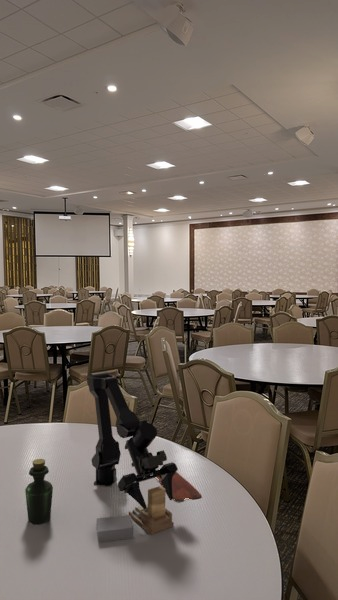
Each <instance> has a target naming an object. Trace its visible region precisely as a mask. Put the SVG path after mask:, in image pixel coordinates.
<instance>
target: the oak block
mask: <svg viewBox="0 0 338 600" xmlns="http://www.w3.org/2000/svg"><path fill="white" fill-rule="evenodd" d="M147 502H148V515H150V516H151V517H152V518H153V519H156V518H159V517H162V516H164V515H165V508H166V492H165V488H163V486H162V485H158V486H156V487H152V488H149V489H147Z"/></svg>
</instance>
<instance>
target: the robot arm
mask: <svg viewBox="0 0 338 600" xmlns="http://www.w3.org/2000/svg"><path fill="white" fill-rule="evenodd" d="M86 379H87V380H86V384H87V386H88V390H89V392H90V394H91V395H92V396H93V398H94V403H95V411H96V412H95V413H96V421H97V429H98V430H97V431H98V440H97V442H96V445H95V453H94V455H93V456H92V458H91V465H92V467H93V468H95V481H94V482H93V484H94V485H100V486H105V487H111V486H112V485H113V484H114V483H115V481H117V480H118V478H117V468H116V465H119V464H120V459H121V455H122V454H121V449H120V443H119V441H118V440H116V439H115V438H114V435H113V428H112V419H111V411H110V409H111V408H112V410H113V412H114V414H115V417H116V419H115V428H116V433H117V435H118V436H119V437H120V438H121V439H126V438H129V439H127V440H126V441H125V446H124V450H127V449H128V454H129V455H130V459H131V461H132V463H131V468H133V467H134V469H135V472H136V473H134V472H132V473H131V472H130V473H129V474H123V476H122V477H121V478H120V479H119V480H118V483H117V488H118V491H119V493H122V492H123V493H124V494H128V496H130V497H131V498H132V499H133V500H134V501H136V502H137V503H138V505H141V506H142V507H143V508H144V509H146V501H145V499H144V496H143V494H142V491H141V488H140V483H142V482H144V481H148V480H151V479H156V478H155V477H160V478H161V479H162V480H161V483H162V484H161V483H160V484H161V486H162V487H163V488H165V495H167V497H168V499H169V501H173V500H174V499H173V495H172V477H173V476H174V474H175V472H177V471H179V468H178V466H177V464H176V463H175V462H168V463H165V464H164V462H166V461H167V459H168V456H167V454H166V452H165V450H159V451H157V452H156V455H153V453H152V452H151V451H150V452H149V449H148V447H150V445H151V444H152V442H153V441H154V440H155V439H156V437H157V435H158V430H157V428H156V427H155V426H154V425H153V424H152V423H149V422H148V420H147V419H143V420H140V419H139V417H138V415H137V414H136V413H135V412H134V411H133V410H131V409H130V407H129V405H128V403H127V401H126V398H125V397H124V395H123V392H122V390H121V387H120V385H119V379H118V378H117V376H115V375H113V374H109V373H108V372H107V371H100V372H95V373H93V372H92V373H90V374H89V376H88V377H87V378H86ZM110 405H111V408H110ZM159 466H161V467H160V468H159ZM159 469H160V470H159ZM136 474H137V475H136Z"/></svg>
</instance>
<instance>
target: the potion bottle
mask: <svg viewBox="0 0 338 600" xmlns="http://www.w3.org/2000/svg"><path fill="white" fill-rule="evenodd" d="M49 472H50V470H49V468H48V466H47V465H46V459H44V458H37V459H34V460H32V467H31V468H30V469H29V472H28V475H29V476H31V477H32V478H33V481H32V482H30V483H29V484H27V486H26V487H25V490H24V491H25V501H26V510H27V520H28V522H29V523H30V524H32V525H43V524H45V523H47V522H49V521H50V518H51V515H52V502H53V490H54V486H53V484H52V483H51V482H50V481H48V480H45V477H46V475H48V474H49Z"/></svg>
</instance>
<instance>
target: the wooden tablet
mask: <svg viewBox="0 0 338 600" xmlns="http://www.w3.org/2000/svg"><path fill="white" fill-rule="evenodd" d="M157 478H158V479H159V481H160V482H159V481H158V482H159V483H160V485H162V483H161V480H162V479H161V478H160V477H157ZM172 495H173V498H174V499H175V500H176V502H177V501H181V502H183V501H182V500H184V499H185V498H189V499H192V500H198V499H201V498H202V494H201V493H200V491H198V490H197V488H195V486H194V485H193V484H192V483H190V482H189V481H188V480H187V479H186V478H185V477H183V476H182V475H181V474H180V473H178V472H177V471H176V472H175V474H174V476H173V477H172ZM174 499H173V500H174ZM189 499H188V500H189ZM175 500H174V501H175Z"/></svg>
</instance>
